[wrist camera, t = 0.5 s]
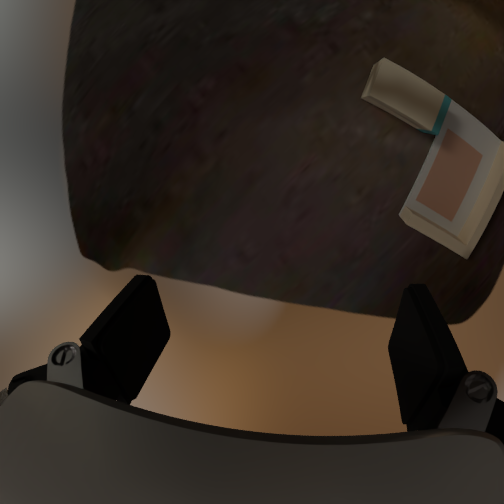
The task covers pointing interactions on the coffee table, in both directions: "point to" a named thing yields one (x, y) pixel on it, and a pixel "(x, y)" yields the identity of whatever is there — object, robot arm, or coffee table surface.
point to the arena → (457, 183)
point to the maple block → (406, 97)
